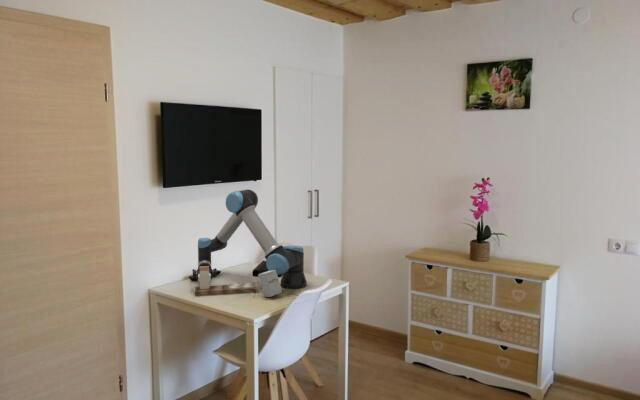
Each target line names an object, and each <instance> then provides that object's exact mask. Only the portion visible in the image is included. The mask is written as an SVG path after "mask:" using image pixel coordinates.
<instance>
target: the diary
mask: <svg viewBox="0 0 640 400" xmlns="http://www.w3.org/2000/svg"><path fill="white" fill-rule="evenodd" d="M266 264H267V263H266V260H262V261H261V262H259V264H258V265H257V266H256V267H255V268H254V269H252V272H251V274H252V277H255V276H256V277H258V275H259V274H261V273H264V272H267V271H269V270H268V268H267V266H266ZM282 275H283V274H279V275H277V276H278V278H282Z"/></svg>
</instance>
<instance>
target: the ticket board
mask: <svg viewBox="0 0 640 400" xmlns="http://www.w3.org/2000/svg"><path fill="white" fill-rule="evenodd" d="M255 293H256V294H257V293H258V288H257V284H256V282H244V283H242V282H241V283H228V284H220V285H209V289H200V285H198V286H195V288H194V296H195V297H206V296H223V295H224V296H225V295H238V294H239V295H241V294H243V295H244V294H255Z"/></svg>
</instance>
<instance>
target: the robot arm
mask: <svg viewBox="0 0 640 400" xmlns="http://www.w3.org/2000/svg"><path fill="white" fill-rule="evenodd" d="M258 204H259V196H258V194H257V192H255V191H254V190H251V189H242V190H234V191H231V192H230V193H228V194H227V195H226V198H225V207H226V209H227V211H228V212H230V213H232V214H231V215H230V217H229V218H228V219H227V221H226V222H225V223H224V225H223V226H222V227H221V229H220V230H219V231H218V232H217V234H216V236H215V237H214V238H212V239H211V238H210V237H200V238H199V239H198V240H197V259H198V261H197V262H198V263H197V269H192V279H196V280H197V281H198V283H200V270H199V266H209V282H211V281H212V280H211V279H213V278H216V277H217V272H218V271H217V268H213V269H212V253H214V252H217V251H222V250H223V249H226V247H227V246H228V241H230V239H231V238H232V236H233V235H234V233H235V232H236V231H237V230H238V228H239V227H240V226H241V225H242V223H244V224H245V226H246V228H247V229H248V230H249V232H250V233H251V234H252V236H253V237H254V239H255V240H256V242H257V243H258V245H259V247H260V248H261V249H262V250H263V252H264V259H265V261H266V263H267V264H266V266H267V268H268V270H269V271H271V270H276V272H277V275H279V274H283V275H282V276H281V277H280V280H279V283H280V286H281V288H284V289H289V290H297V289H302V288H303V289H304V288H305V287H307V285H308V284H307V279H306V275H305V273H304V270H305V269H304V267H305V264H304V261H305V259H304V256H305V255H304V254H305V251H304V248H303V247H302V246H298V245H284V246H283V244H280V243H278V242H277V240H276V239H275V238H274V236H273V235H272V233H271V232H270V230H269V229H268V227H267V226H266V224H265V223H264V221H263V220H262V218H260V215H259V214H258V213H257V211H256V208H257V207H258Z"/></svg>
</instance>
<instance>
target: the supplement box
mask: <svg viewBox="0 0 640 400" xmlns="http://www.w3.org/2000/svg"><path fill="white" fill-rule="evenodd" d="M257 277H258V279H259V283H260V287H261V290H262V293H263V297H264V298H269V297H273V296H275V295H276V296H277V295H279V294H281V293H283V292H282V287H281V286H280V279H279V277H278V276H277V272H276V270H271V271H267V272H264V273H261V274H259V275H257Z"/></svg>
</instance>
